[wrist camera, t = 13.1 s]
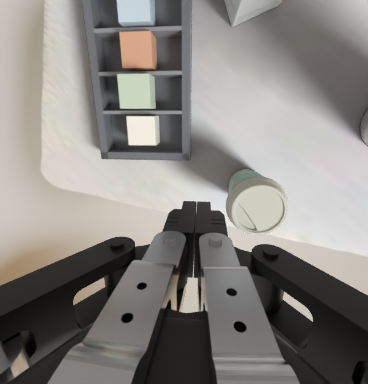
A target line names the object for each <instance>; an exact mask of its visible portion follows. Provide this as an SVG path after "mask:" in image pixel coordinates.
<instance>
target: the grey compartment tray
mask: <svg viewBox="0 0 368 384" xmlns="http://www.w3.org/2000/svg"><path fill="white" fill-rule="evenodd" d="M82 6H83V14H84V22H85V30H86V38H87V46H88V54H89V62H90V70H91V78H92V86H93V94H94V102H95V110H96V118H97V126H98V134H99V142H100V150H101V158H102V159H130V160H190V157H191V60H192V0H155V21H156V27H130V28H124V27H123V26H122V25H121V24H120V23H119V22H118V10H117V0H82ZM133 31H151V32H152V33H153V35H154V36H155V38H156V48H157V71H127V70H125V69H123V68H122V58H121V46H120V34H119V32H133ZM117 74H150V75H152V76H153V77H155V102H156V109H120V101H119V90H118V79H117ZM126 116H159V130H160V143H159V144H157V145H156V146H155V145H129V143H128V131H127V119H126Z"/></svg>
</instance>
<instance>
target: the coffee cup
mask: <svg viewBox="0 0 368 384" xmlns="http://www.w3.org/2000/svg"><path fill="white" fill-rule="evenodd" d="M226 212H227V215H228V217H229V219H230V221H231V222H232V223H233V224H234V226H236V227H237V228H238V229H240V230H242V231H243V232H245V233H247V234H251V235H264V234H268V233H271V232H273V231H275V230H276V229H277V228H279V227H280V226H281V225H282V223H283V222H284V221H285V219H286V216H287V213H288V198H287V195H286V193H285V191H284V189H283V188H282V186H281V185H280V184H278V183H277V182H276V181H274V180H272V179H269V178H266V177H263V176H262V175H260V174H258V173H257V172H255V171H253V170H251V169H241V170H238V171H237V172H235V173H234V174H233V175H232V176H231V178H230V180H229V189H228V198H227V201H226Z"/></svg>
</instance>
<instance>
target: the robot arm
mask: <svg viewBox="0 0 368 384" xmlns="http://www.w3.org/2000/svg"><path fill="white" fill-rule="evenodd" d="M360 130H361V136H362V139H363V141H364V142H365V144H366V145H368V109H367V111H366V112H365V114H364V116H363V119H362V121H361V127H360ZM193 264H194V278H198V310H199V312H193V313H182V312H181V310H182V306H183V301H184V296H185V291H186V284H187V278H188V277H193ZM103 277H104V280H105V288H103V289H101V290H99V291H98V292H96V293H94V294H93V295H91V296H89V297H87V298H86V299H84V300H82V301H80V302H79V303H77V304H75V305H74V306H73V299H74V296H75V295H76V293H77V292H78V291H80V290H81V289H83V288H85V287H87V286H88V285H90V284H92V283H94V282H96V281H98V280H99V279H101V278H103ZM284 292H286V293H287V294H289V295H290V296H292V297H293V298H294V299H296V300H297V301H299V302H300V303H301V304H303V305H304V306H305V307H307V308H308V310H309V311H310V312H311V314H312V316H313V322H312V321H311V320H309V319H308V318H306V317H305V316H304V315H303V314H301V313H300V312H299V311H297V310H296V309H294V308H293V307H292V306H290V305H289V304H288V303H286V302H285V301H284V300H283V294H284ZM0 384H368V295H366V294H364V293H362V292H360V291H358V290H356V289H355V288H353V287H351V286H349V285H347V284H345V283H344V282H342V281H340V280H338V279H336V278H335V277H333V276H330V275H329V274H327V273H325V272H324V271H322V270H320V269H318V268H316V267H314V266H313V265H311V264H309V263H307V262H305V261H303V260H301V259H300V258H298V257H296V256H294V255H292V254H291V253H289V252H287V251H285V250H283V249H281V248H279V247H276V246H274V245H268V244H261V245H257V246H255V247H254V248H253V249H252V252H248V251H244V250H240V249H238V248H236V247H234V246H233V243H232V240H231V239H230V238H229V237H228V235H227V228H226V223H225V217H224V214H222V213H221V212H220V211H212V210H211V206H210V202H197V214H196V202H194V201H184V202H183V206H182V209H174V210H172V211H171V212H170V213H169V214H168V217H167V220H166V223H165V226H164V229H163V231H162V232H161V233H159V234H157V235H156V236H155V237H154V239H153V241H152V242H151V244H149V245H144V246H137V247H135V242H134V241H133V240H132V239H131V238H127V237H115V238H111V239H109V240H106V241H104V242H102V243H99V244H97V245H95V246H92V247H90V248H88V249H85V250H83V251H80V252H78V253H76V254H73V255H72V256H69V257H66V258H65V259H62V260H59V261H57V262H55V263H53V264H50V265H48V266H45V267H43V268H41V269H38V270H36V271H34V272H32V273H29V274H27V275H25V276H22V277H20V278H18V279H15V280H13V281H10V282H8V283H6V284H3V285H1V286H0Z"/></svg>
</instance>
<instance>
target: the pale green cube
mask: <svg viewBox="0 0 368 384" xmlns="http://www.w3.org/2000/svg"><path fill="white" fill-rule="evenodd" d="M117 79H118V90H119V101H120V109H156V102H155V77H153V76H152V75H150V74H117Z"/></svg>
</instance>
